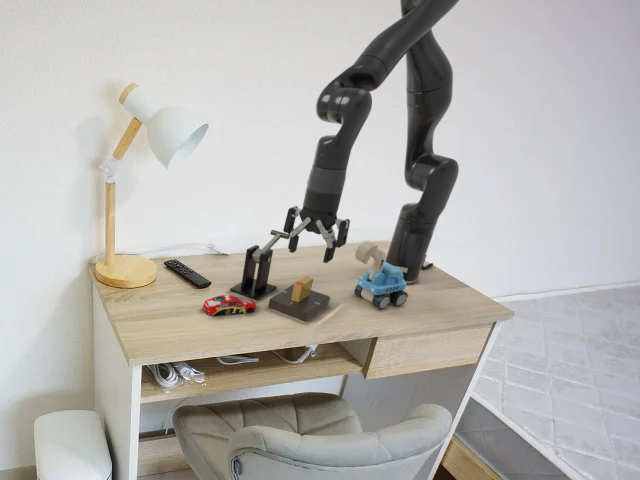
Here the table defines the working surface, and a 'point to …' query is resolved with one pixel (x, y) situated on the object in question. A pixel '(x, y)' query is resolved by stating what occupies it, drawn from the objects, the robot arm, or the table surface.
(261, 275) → the lever bracket
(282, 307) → the lock plate
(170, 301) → the table surface
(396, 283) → the toy excavator
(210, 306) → the race car
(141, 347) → the table surface
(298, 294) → the lock knob
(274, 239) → the grey lever handle
